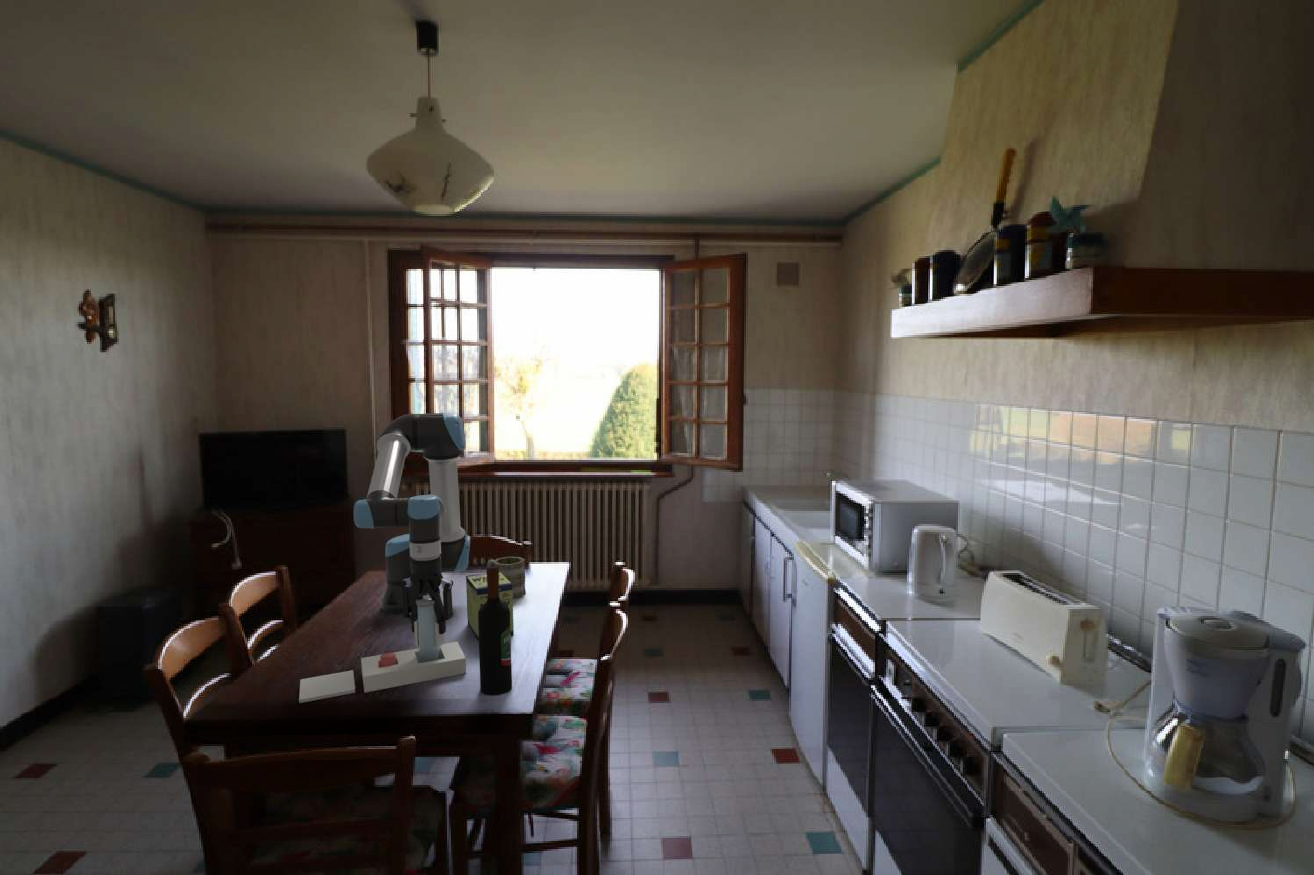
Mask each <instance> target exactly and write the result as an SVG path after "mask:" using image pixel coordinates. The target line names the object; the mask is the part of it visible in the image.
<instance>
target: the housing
mask: <svg viewBox="0 0 1314 875" xmlns="http://www.w3.org/2000/svg"><path fill="white" fill-rule="evenodd" d="M393 653H394V654H396V665H391V666H386V667H381V662H380V656H381V655H383V654H384V653H383V654H377V655H373V656H366V657H361V659H360V663H361V664H360V665H361V675H362V676H361V677H362V684H363V690H364V693H369V692H375V691H381V690H385V689H390V688H396V687H401V686H405V685H410V684H416V683H421V682H426V681H427V682H428V681H432V680H437V679H443V678H448V677H452V676H457V675H463V674H466V673H467V663H466V662H467V661H466V660H467V658H466V655H465V654H464V651H463V649H462V647H461V646H460V643H459V642H458V641H451V642H447V643H443V644H442V645H441V646H440V660H434V661H429V662H423V663H420V655H419V647H418V648H412V649H408V650H406V649H405V650H401V651H395V652H394V651H393Z"/></svg>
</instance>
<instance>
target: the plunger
mask: <svg viewBox="0 0 1314 875" xmlns="http://www.w3.org/2000/svg"><path fill="white" fill-rule="evenodd" d="M380 655H381V656H380V662H381V667H386V666H391V665H396V654H394V652H386V653H383V655H382V654H380Z"/></svg>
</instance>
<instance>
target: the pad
mask: <svg viewBox="0 0 1314 875" xmlns="http://www.w3.org/2000/svg"><path fill="white" fill-rule="evenodd" d="M354 676H355V675H354V670H353V669H352V670H347V671H346V670H345V671H341V672H335V673H329V674H324V675H318V676H312V677H307V678H303V679H301V678H300V683H299V695H298V696H299V698H298V702H299V704H303V703H308V702H312V701H317V700H318V701H319V700H323V699H329V698H334V697H339V696H345V695H350V694H355V693H356V685H355V677H354Z"/></svg>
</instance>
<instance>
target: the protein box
mask: <svg viewBox="0 0 1314 875" xmlns="http://www.w3.org/2000/svg"><path fill="white" fill-rule="evenodd" d="M465 582H466V583H465V584H466V585H465V586H466V588H465V589H466V612H467V613H466V614H467V615H466V616H467V618H466V619H467V625H468V627H469V629H470V631H471V632H472V634H473V635H474V637H475V638H476V640H477V641H478V642H479V632H478V611H479V609H480V607H481V606H482V605H483V604H484V603H486V602H487V598H488V591H487V572H486V573H485V572H483V573H478V574H469V575H468V574H467V575H465ZM499 597H500V600H501V601H502V602H504V603H505V604H506V605H507V606H508V607H509V610H510V632H511V637H513V636H514V633H515V632H514V630H515V629H514V626H515V625H514V599H513V590H512V583H511V582H510V581H509V580H508V579H507V578H506V577H505V576H504V575H503V574H502V573H501V572H499Z"/></svg>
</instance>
